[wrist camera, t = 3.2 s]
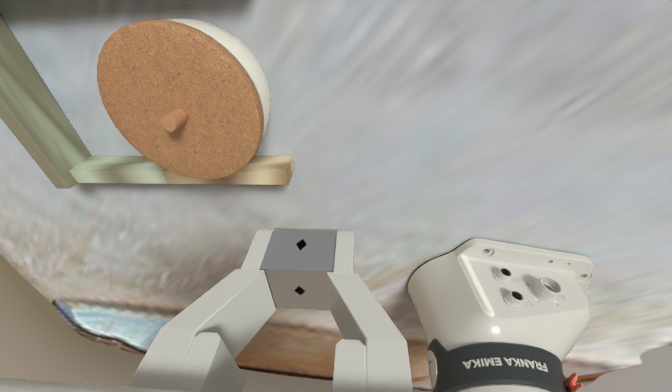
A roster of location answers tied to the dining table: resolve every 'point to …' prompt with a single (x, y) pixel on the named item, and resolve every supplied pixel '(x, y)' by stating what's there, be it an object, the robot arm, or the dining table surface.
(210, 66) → the lidded jar
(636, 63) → the dining table surface
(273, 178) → the bay
